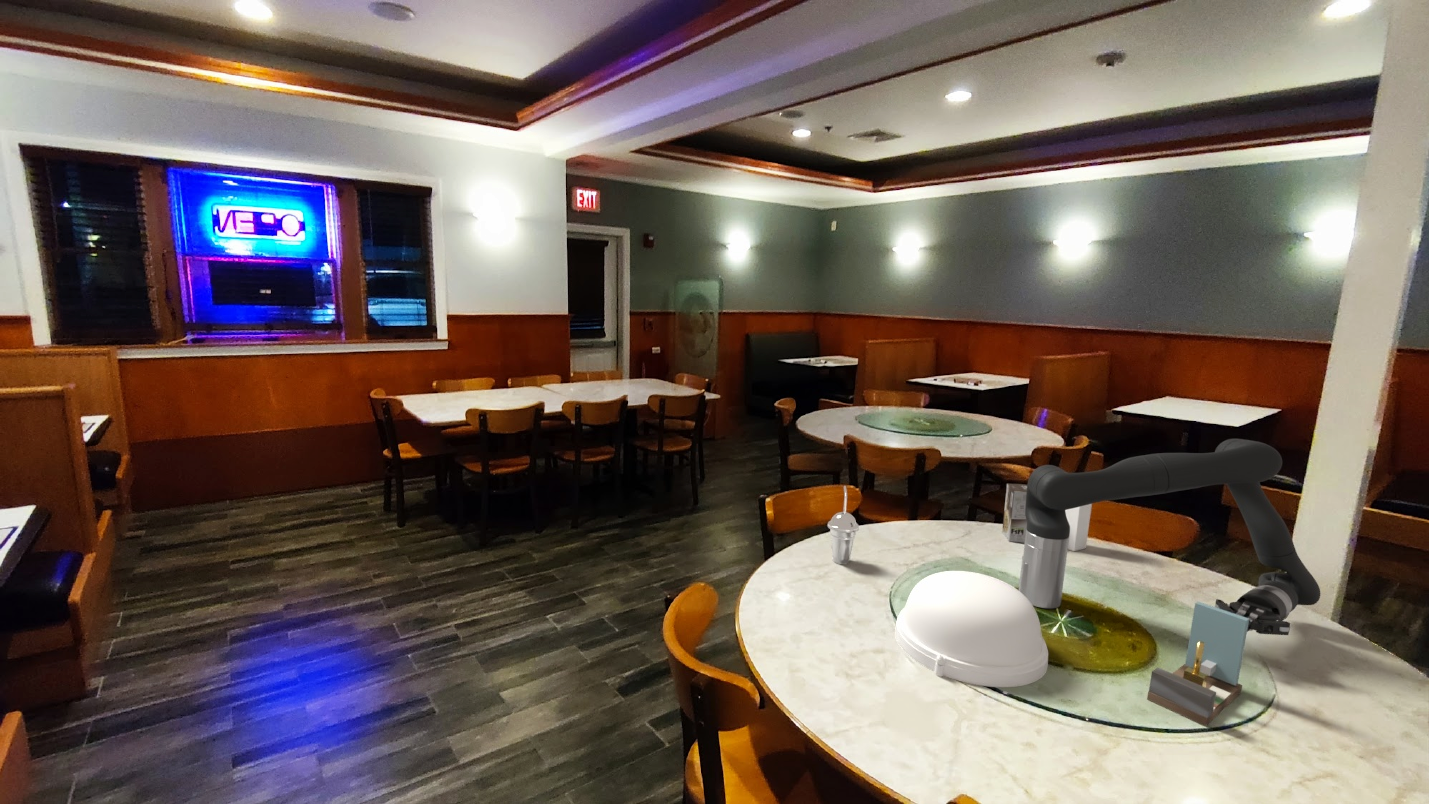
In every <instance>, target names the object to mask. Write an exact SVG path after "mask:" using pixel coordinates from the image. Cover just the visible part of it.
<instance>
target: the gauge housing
mask: <svg viewBox="0 0 1429 804" xmlns="http://www.w3.org/2000/svg"><path fill="white" fill-rule="evenodd" d="M1187 668H1188V666H1186V665H1185V663H1184V664H1182V665H1181V666H1180V667H1179V668H1177V669H1176V670H1175V671H1174V672H1172V673H1171V672H1169V671H1168V670H1165V669H1163V668H1160V667H1159V666H1158V667H1156V668H1154V669H1153V670H1152V671H1151V675H1150V682H1149V688H1148V692H1147V698H1146V700H1148V701H1150V702H1152V703H1154V704H1156V705H1158V706H1160V707H1162V708H1165V709H1167V710H1169V711H1171V712H1173V713H1176V714H1178V715H1180V716H1182V717H1184V718H1186V719H1188V720H1191V721H1192V722H1195V723H1197V724H1199V725H1201V726H1204V727H1207V725H1209V723H1211V722H1212V721H1213V720H1214V719H1215V718H1216V717H1217V716H1218V715H1219V714H1220V713H1221V712H1222V711H1224V709H1225V708H1227V707H1228V705H1230V704H1231V703H1232V702H1233V701H1234V700H1235V699H1236V698H1237V697H1238V696H1239V695H1240V694H1241V693H1242V690H1243V685H1242V684H1240V683H1239V682H1238V683H1237V684H1236V685H1232V684H1230V683H1227V682H1225V681H1223V680H1220V679H1218V678H1215V677H1213V676H1208V677H1207V683H1206V687H1203V686H1200V685H1198V684H1196V683H1193V682H1191V681H1189V680H1186V679H1184V678H1183V676H1184V670H1185V669H1187ZM1190 668H1191V667H1190ZM1192 669H1193V668H1192ZM1231 701H1232V702H1231Z"/></svg>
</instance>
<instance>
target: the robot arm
mask: <svg viewBox="0 0 1429 804" xmlns="http://www.w3.org/2000/svg"><path fill="white" fill-rule="evenodd" d="M1282 467H1283V459H1282V456H1281V454H1280V452H1279V451H1278V450H1277V449H1276V448H1274V447H1272V446H1271V445H1269V444H1267V443H1264V442H1260V441H1256V440H1249V439H1243V438H1228V439H1226V440H1224V441H1222V442H1220V443H1219V444H1218V445H1217V447H1216V448H1215V450H1214V452H1204V453H1203V452H1201V453H1200V452H1198V453H1197V452H1195V453H1194V452H1161V453H1159V452H1158V453H1150V454H1145V455H1138V456H1131V457H1128V458H1125V459H1122V460H1120V461H1118V462H1116V463H1114V464H1112V465H1110V466H1108V467H1106V468H1103V469H1099V470H1095V471H1084V472H1068V471H1066V470H1064V469H1062V468H1061V467H1058V466H1056V465H1053V464H1044V465H1041V466H1038V467H1037V468H1035V469H1034V470H1033V471H1032V472H1031V474H1030V475H1029V478H1028V479H1027V480H1028V481H1027V484H1026V485H1027V493H1026V506H1025V516H1026V521H1027V527H1026V536H1025V543H1024V547H1023V554H1022V557H1021V567H1020V576H1019V585H1018V591H1020V592H1021V593H1022V594H1023V595H1024V596H1025V597H1026V598H1027V599H1028V600H1029V601H1030V603H1031V604H1032V605H1033V607H1038V608H1042V609H1056V608H1059V607H1060V606H1061V604H1062V597H1063V588H1064V580H1065V574H1066V573H1065V572H1066V565H1067V556H1068V550H1069V549H1068V543H1069V534H1070V525H1069V522H1068V520H1067V517H1066V512H1065V510H1067V509H1072V508H1076V507H1080V506H1084V505H1088V504H1092V505H1093V504H1096V503H1100V502H1106V501H1115V500H1116V501H1117V500H1122V499H1131V498H1137V497H1140V498H1141V497H1147V496H1148V497H1149V496H1154V495H1155V496H1156V495H1162V494H1164V495H1165V494H1168V493H1174V492H1179V491H1186V490H1193V489H1199V488H1202V487H1203V488H1204V487H1209V486H1216V485H1227V487H1228V490H1229V492H1230V494H1231V495H1232V497H1233V499H1234V501H1235V503H1236V505H1237V507H1238V509H1239V511H1240V513H1241V515H1242V518H1243V520H1244V522H1245V526H1246V527H1247V530H1248V532H1249V535H1250V538H1251V542H1252V545H1253V547H1254V550H1255V553H1256V556H1257V558H1258V561H1259V562H1260V564H1262V565H1264V566H1266V567H1268V568H1269V567H1270V568H1273V569H1277V570H1281V571H1284V572H1276V571H1275V572H1272V571H1271V572H1264V573H1262V574H1261V575H1260V576H1259V577H1258V581H1257V583H1258V586H1255V587H1253V588H1251V589H1250V590H1248V591H1247V592H1246V593H1243V594H1242V596H1240V597H1239V598H1238V599H1237V601H1231V602H1230V603H1229V604H1228V603H1227V602H1224V600H1222V599H1218V598H1217V599H1216V600H1215V605H1214V607H1216V608H1219V609H1222V610H1225V611H1228V612H1231V613H1234V614H1237V615H1240V616H1243V617H1246V618H1249V623H1248V629H1247V633H1248V632H1252V631H1255V632H1256V633H1257V634H1260V635H1275V636H1289V633H1290V628H1291V623H1290V622H1289V621H1287V620H1286V619H1287V618H1288V617H1289V615H1290V613H1291V612H1292V611H1294V610H1295V609H1296V607H1297V606H1313V605H1315V604H1317V603H1319V600H1320V598H1321V588H1320V586H1319V584H1318V582H1317V581H1316V579H1315V578H1314V576H1313V575H1312V574H1311V572H1310V571H1309V569H1307V567H1306V566H1305V565H1304V563H1303V561H1302V560H1301V558H1300V556H1299V554H1298V553H1297V550H1296V547H1295V545H1294V544H1295V543H1294V541H1293V538H1292V536H1291V535H1292V534H1291V533H1290V530H1289V529H1288V526H1287V525H1286V522H1285V521H1284V519H1283V518H1282V517H1281V515H1280V514H1279V513H1278V511H1277V510H1276V509H1275V507H1274V505H1273V504H1272V503H1271V502H1270V500H1269V499H1268V496H1266V495H1267V494H1265V492H1264V490H1263V488H1262V486H1261V483H1262V482H1266V481H1269V480H1270V479H1272V478H1274V477H1275V476H1276V475H1277V474H1278V473H1279V472H1280V471H1281V469H1282Z"/></svg>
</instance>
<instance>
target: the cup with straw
mask: <svg viewBox="0 0 1429 804" xmlns="http://www.w3.org/2000/svg"><path fill="white" fill-rule="evenodd" d="M843 493H844V498H843V499H844V500H843V511H841V512H840V511H839V512H837V513H835V514H834V515H833V516H832V518H831V519H830V520H829V521H828V522H827V525H826V526H827V528H828V529H830V530H829V531H830V536H831V554H832V555H831V556H832V562H833V563H835V564H838V565H847V564H849V563H850V559H851V555H852V550H853V546H854V545H853V544H854V540H855V537H856V533H857V532H858V531H859V530H860V527H859V526H860V525H859V524H858V523H857V522H856V518H855V517H854V516H853V515H852V513H849V512H847V503H848V490H847V486H846V485H844V486H843Z"/></svg>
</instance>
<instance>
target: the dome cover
mask: <svg viewBox="0 0 1429 804" xmlns="http://www.w3.org/2000/svg"><path fill="white" fill-rule="evenodd" d="M895 622H896V623H895V626H894V627H895V628H894V637H895V640H896V643H897V645H898V646H899V647H900V648H901V649H902V651H903V652H904V653H905V654H906V655H908V656H909V658H911V659H912V660H914V661H915V662H916V663H918V664H919V665H920V666H923V667H925V668H926V669H928V670H931V671H933V672H934V675H935V676H936V677H940V678H942V677H946V678H949V679H952V680H955V681H958V682H959V681H960V682H963V683H966V684H971V685H976V686H983V687H990V688H1014V687H1021V686H1026V685H1029V684H1032V683H1035V682H1037V681H1038V680H1040V679H1041V678H1043V677H1044V675H1045V674H1046V673H1047V671H1048V667H1049V666H1048V665H1049V664H1048V663H1049V650H1048V649H1049V648H1048V646H1047V644H1046V643H1047V642H1046V640H1045V639H1044V637H1043V636H1042V628H1041V623H1040V622H1041V621H1040V619H1039V616H1038V612H1037V611H1036V609H1035V606H1033V605H1032V604H1031V603H1030V601H1029V600H1028V599H1027V598H1026V597H1025V596H1024V595H1023V594H1022V593H1021V592H1020V591H1019V589H1018V588H1016V587H1014V586H1012V585H1011V584H1010V583H1007V582H1005V581H1003V580H1001V579H998V578H996V577H992V576H990V575H987V574H983V573H978V572H974V571H973V572H972V571H967V570H947V571H940V572H936V573H932V574H930V575H928V576H926V577H924V578H923V579H921V580H920V581H918V583H916V584H915V586H914V587H913V588H912V590H911V592H910V594H909V596H908V598H907V601H906V603H905V606H904V607H902V609H901V611H900V612H899V615H897V618H896V621H895Z"/></svg>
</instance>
